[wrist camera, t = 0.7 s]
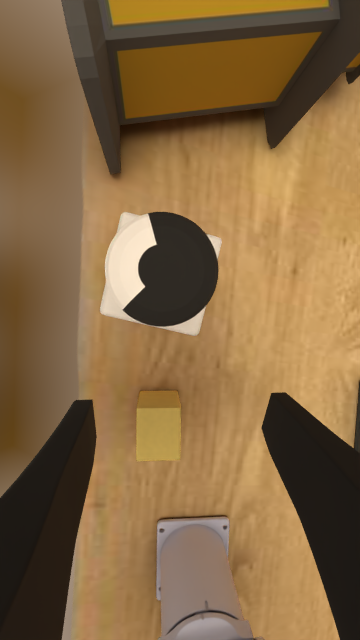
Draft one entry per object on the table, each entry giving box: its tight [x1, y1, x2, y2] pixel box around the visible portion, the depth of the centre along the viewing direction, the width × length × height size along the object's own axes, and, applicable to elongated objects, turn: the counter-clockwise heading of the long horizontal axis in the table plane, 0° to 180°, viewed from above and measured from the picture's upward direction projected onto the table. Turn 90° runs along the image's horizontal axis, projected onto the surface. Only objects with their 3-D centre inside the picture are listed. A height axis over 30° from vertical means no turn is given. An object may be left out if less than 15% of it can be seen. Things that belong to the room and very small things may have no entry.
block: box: [136, 391, 181, 461], centre depth 27 cm, size 5×4×4 cm
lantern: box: [61, 0, 360, 174], centre depth 20 cm, size 14×14×30 cm
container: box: [100, 212, 222, 336], centre depth 21 cm, size 8×8×13 cm
